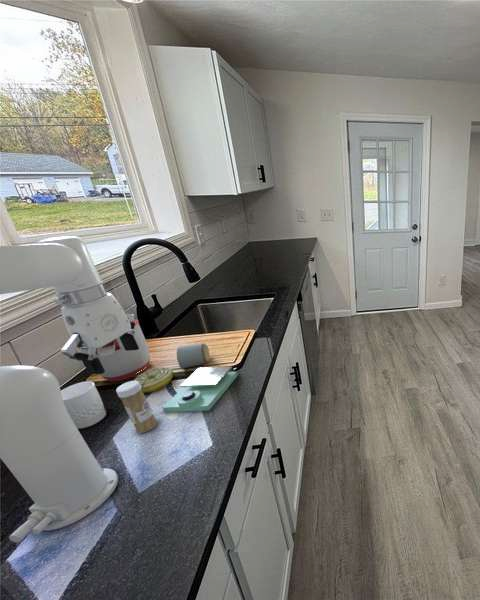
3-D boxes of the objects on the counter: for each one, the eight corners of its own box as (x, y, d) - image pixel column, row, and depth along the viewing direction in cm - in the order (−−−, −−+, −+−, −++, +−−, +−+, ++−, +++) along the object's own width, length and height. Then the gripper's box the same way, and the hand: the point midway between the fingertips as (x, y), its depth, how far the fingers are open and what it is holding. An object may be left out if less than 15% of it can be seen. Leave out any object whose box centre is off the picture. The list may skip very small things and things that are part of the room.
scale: (208, 411, 87) (205, 402, 86) (163, 412, 87) (159, 404, 86) (237, 375, 102) (235, 367, 101) (199, 377, 102) (196, 369, 101)
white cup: (86, 432, 82) (68, 402, 78) (63, 429, 84) (44, 399, 80) (116, 411, 89) (101, 382, 85) (95, 408, 91) (79, 380, 87)
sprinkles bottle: (155, 429, 81) (135, 388, 76) (134, 436, 80) (112, 393, 74) (159, 418, 85) (141, 377, 80) (139, 424, 84) (119, 383, 78)
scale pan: (216, 385, 92) (216, 384, 92) (180, 387, 93) (180, 385, 92) (232, 368, 101) (231, 366, 100) (199, 369, 101) (198, 367, 101)
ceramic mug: (208, 366, 108) (201, 346, 105) (181, 372, 105) (173, 353, 102) (212, 352, 117) (206, 333, 114) (187, 357, 114) (181, 339, 111)
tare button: (190, 400, 87) (189, 396, 87) (181, 401, 87) (180, 397, 87) (196, 394, 90) (195, 390, 89) (187, 394, 90) (186, 391, 89)
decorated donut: (167, 371, 107) (163, 361, 105) (180, 380, 101) (176, 371, 99) (130, 387, 99) (125, 377, 98) (142, 399, 93) (137, 389, 92)
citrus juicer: (90, 395, 97) (59, 339, 89) (106, 368, 111) (80, 317, 103) (151, 378, 103) (128, 324, 96) (159, 354, 118) (139, 305, 110)
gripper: (59, 310, 60) (98, 383, 67) (132, 280, 76) (157, 341, 83) (22, 312, 60) (64, 384, 67) (102, 282, 76) (130, 342, 83)
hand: (116, 360), depth 75 cm, fingers open, 9 cm apart
